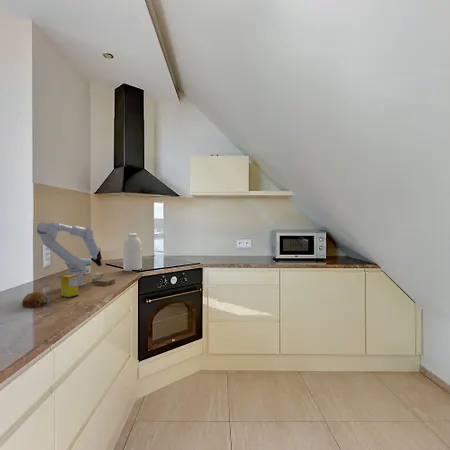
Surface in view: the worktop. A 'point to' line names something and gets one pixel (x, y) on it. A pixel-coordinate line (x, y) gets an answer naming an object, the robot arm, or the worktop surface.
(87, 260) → the light bulb box
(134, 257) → the bottle
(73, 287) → the supplement box
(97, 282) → the walnut block
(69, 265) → the robot arm
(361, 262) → the worktop surface
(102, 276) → the maple cube
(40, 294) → the bread roll
